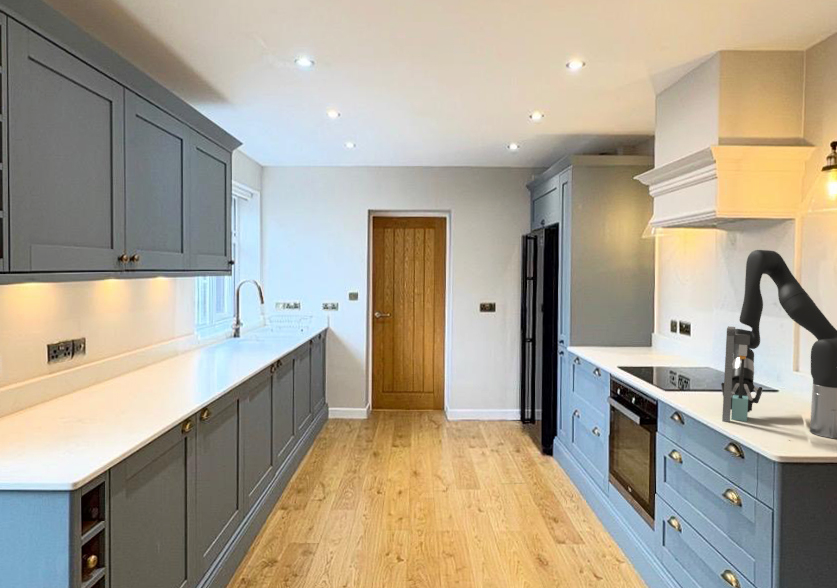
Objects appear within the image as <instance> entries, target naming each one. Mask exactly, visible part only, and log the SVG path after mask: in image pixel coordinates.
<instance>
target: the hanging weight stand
mask: <svg viewBox="0 0 837 588" xmlns="http://www.w3.org/2000/svg"><path fill="white" fill-rule="evenodd" d="M735 329H736V326H727V328H726V339H725V341H726V342H725V357H724V358H725V359H724V379H723V381H724V382H723V383H724V396H723V395H722V397H723V399H722V418H721V419H722V422H725V423H731V413H732V410H731V393H732V374H733V356H734V344H739V354H738V355H739V359H741V360H740V379H739V398H740V399H742V394H743V375H744V359H746V356H747V345H750V335H746V334H735Z"/></svg>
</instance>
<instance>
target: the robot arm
mask: <svg viewBox="0 0 837 588" xmlns="http://www.w3.org/2000/svg"><path fill="white" fill-rule="evenodd" d="M763 275H768V277H769V278H770V279H771V280H772V281H773V283H774V284H775V286H776V288H777V292H778V293H777V296H778V297H777V298H778V302H779V304H780V306H781V307H782V308H783V310H784V311H785V313H786V315H787V316H788V317H789V318H790V319H791V320H792V321H794V322H795V323H796V324H797V325H799V326H801V327H802V328H803V329H805V330H806V331H808V332H810V334H812V335H813V336H814V337H815V338H816V341H815V342H814V343H813V344H812V347H811V349H810V375H811V377H812V389H811V390H812V392H811V406H810V407H811V409H810V426H809V432H810V433H811V434H812V435H816V436H820V437H825V438H830V439H837V329H836V327H835V326H834V325H832V323H830V321H829V319H828V318H827V317H826V316H825V314H824V313H823V312H822V311H821V310H820V309H819V307H818V306H817V304H816V303H815V302H814V300H813V299H812V298H811V295H809V294H808V292H807V291H806V290H805V289H804V288H803V286H802V285H801V284H800V282H799V280H797V278H796V277H795V276H794V275H793V273H792V272H791V270H790V268H789V267H788V265H787V263H786V261H785V260H784V258H783V257H782V255H781V254H780V253H779V252H777V251H775V250H770V249H769V250H767V249H756V250H753V251H751V252H750V253H749V254H748V256H747V259H746V263H745V281H744V284H745V285H744V296H743V302H742V307H741V312H740V315H739V322H740V323H741V324H743V325H745V326H748V327H750V328H751V330H748V329H747V330H746V329H742V328H735V334H746V335H750V345H747V356H746V359H744V375H743V394H742V396H747V397H748V413H750V412H752V410H753V404H759V401H760V399H761V396H762V394H763V387H762V386H759V387H757V386H755V385H754V378H755V376H754V375H755V364H754V363H755V352H754V350H756V349H757V348H758V347H759V346H760V343H761V335H760V334H761V332H760V323H761V322H760V321H761V317H762V313H763V310H764V308H763V307H764V301H763V295H762V290H761V281H762V277H763ZM738 354H739V344H734V354H733V374H732V393H731V411H732V398H733V395H739V379H740V360H741V359H739V355H738ZM720 384H721V387H720V389H721V392H722V397H723V396H724V382H721V383H720ZM753 391H755V396H754V397H753V396H752V394H751V393H752V392H753Z"/></svg>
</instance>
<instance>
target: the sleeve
mask: <svg viewBox="0 0 837 588" xmlns="http://www.w3.org/2000/svg"><path fill="white" fill-rule="evenodd" d="M748 413H749V412H748V397H747V396H742V399H740V398H739V395H733V398H732V410H731V414H730V421H731V420H732V421H733V420H734V421H740V422H748V417H749V416H748Z"/></svg>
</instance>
